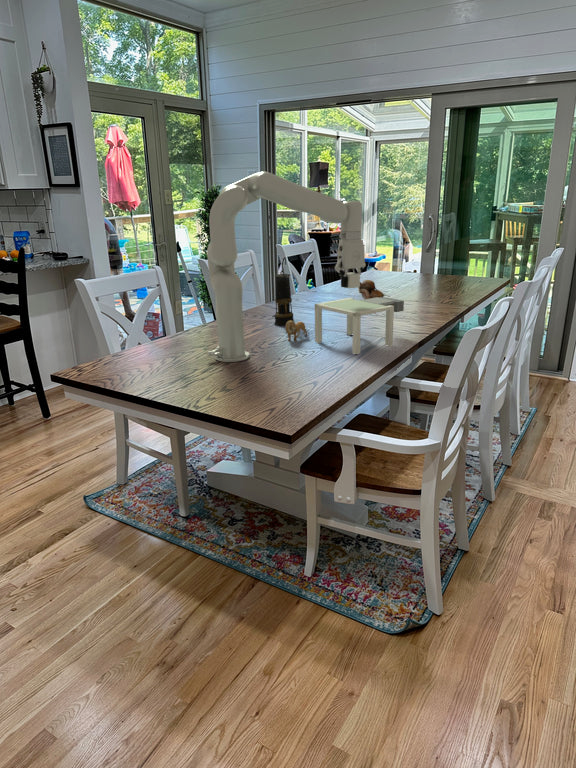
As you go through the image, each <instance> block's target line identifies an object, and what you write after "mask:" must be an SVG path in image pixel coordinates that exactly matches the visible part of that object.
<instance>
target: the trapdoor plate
mask: <svg viewBox="0 0 576 768" xmlns="http://www.w3.org/2000/svg"><path fill="white" fill-rule="evenodd" d="M324 305H328V306H333V307H337V308H342V309H346V310H351V311H355V312H359V311H364V310H369V309H374V308H379V307H384V306H389V305H391V306H394V313H399V312H400V313H401V312H404V309H405V306H404V305H405V301H404V300H401V299H395V298H392V297H391V298H390V297H385V296H383V297H379V298H378V297H376V298H371V299H361V300H360V299H359V300H358V299H355V298H354V299H348V300H343V301H337V302H332V303H326V304H324Z"/></svg>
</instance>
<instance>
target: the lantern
mask: <svg viewBox="0 0 576 768" xmlns="http://www.w3.org/2000/svg"><path fill="white" fill-rule="evenodd" d="M284 264H285V265H287V258H286V257H283V259H282V262H281V271H280V273H278V274H275V275H274V277H275V300H274V302H275V314H274V315H272V316H271V317H272V318H274V320H275V321H274V326H277V327H278V326H279V327H286V323H287V322H288V321H290V320H291V321H294V313H293V308H292V307H293V306H292V301H293V299H292V295H291V291H292V290H291V283H290V279H291V278H290V276H291V274H288V273H285V271H284V270H285V269H284ZM294 322H295V321H294Z"/></svg>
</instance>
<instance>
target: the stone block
mask: <svg viewBox="0 0 576 768" xmlns="http://www.w3.org/2000/svg"><path fill="white" fill-rule="evenodd" d="M346 277H348V287H347V288H345V287H343V288H345V289H355V288H358V287H360V282H361V275H360V274H359V273H354V272H349V271H348V273H347V276H346Z"/></svg>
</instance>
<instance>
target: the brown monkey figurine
mask: <svg viewBox="0 0 576 768" xmlns="http://www.w3.org/2000/svg"><path fill="white" fill-rule="evenodd" d="M375 284H376V283H375V281H373V280H370V279H367V280H363V281H362V282H361V281H360V287H357V288H358V293H359V294H361V297H362V298H363V300H365V299H371V298H376V297H378V298H379V297H385V296H387V298H390V297H391V296H390V295H388V294H385V293H383V292H382V291H381V290H379V289H378V288H377V287H376V285H375Z"/></svg>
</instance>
